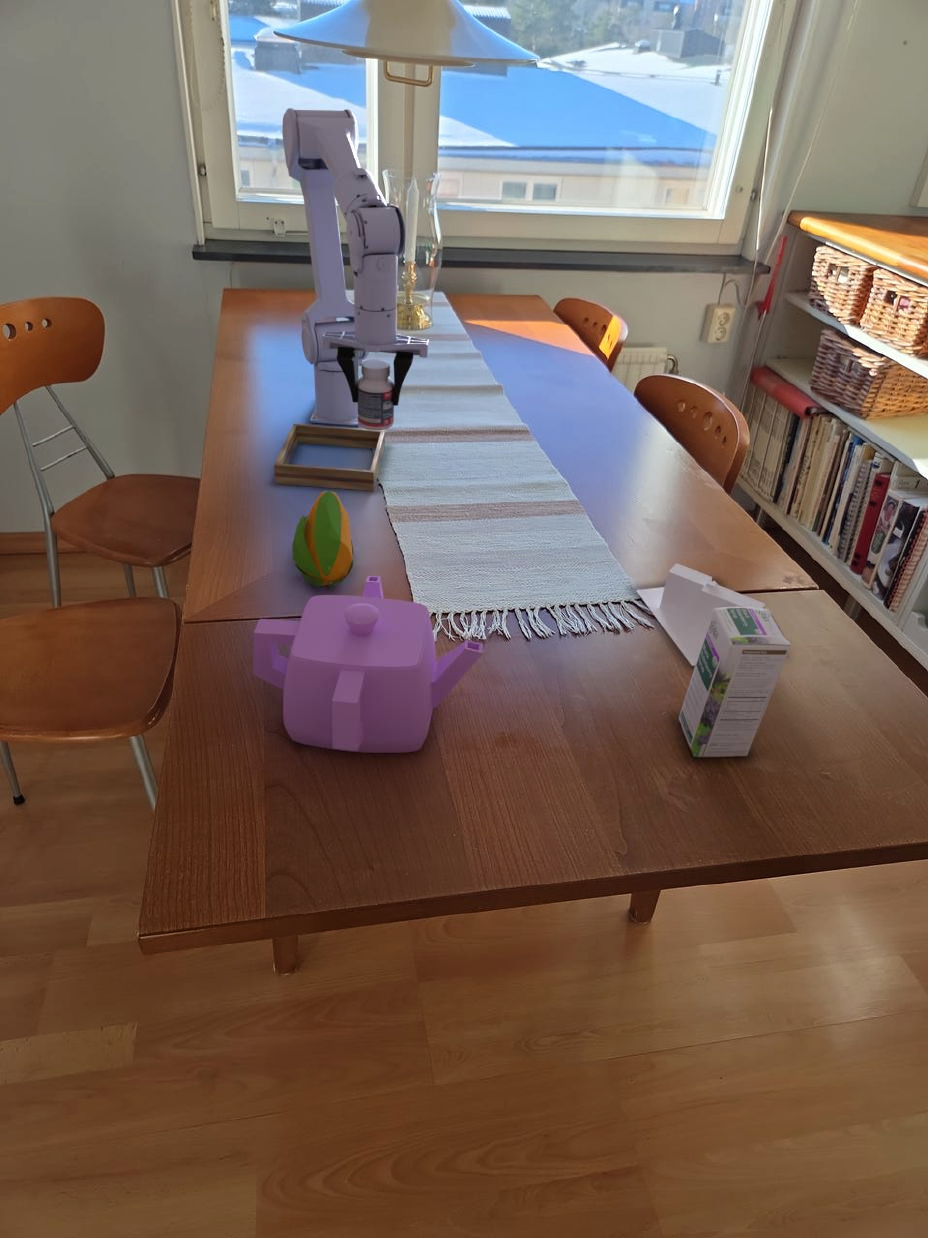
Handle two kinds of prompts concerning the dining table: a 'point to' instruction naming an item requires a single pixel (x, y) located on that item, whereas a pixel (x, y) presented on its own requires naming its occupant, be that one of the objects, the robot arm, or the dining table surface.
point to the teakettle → (359, 671)
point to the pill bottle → (375, 396)
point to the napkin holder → (690, 606)
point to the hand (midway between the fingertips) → (375, 401)
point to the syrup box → (732, 681)
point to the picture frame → (327, 474)
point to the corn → (324, 542)
